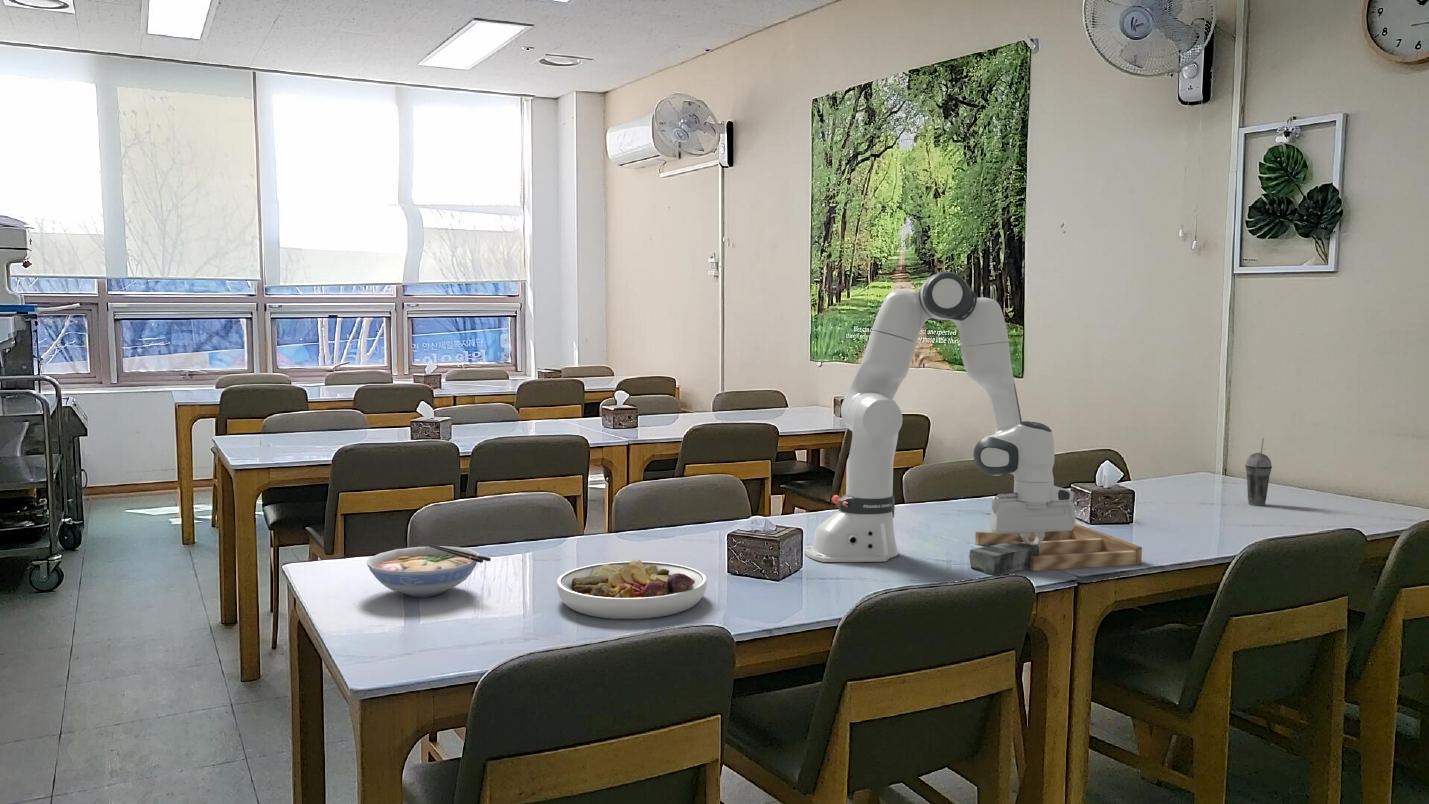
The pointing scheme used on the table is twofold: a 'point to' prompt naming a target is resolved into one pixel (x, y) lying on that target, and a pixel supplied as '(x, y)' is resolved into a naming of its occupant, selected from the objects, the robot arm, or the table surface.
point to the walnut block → (1046, 536)
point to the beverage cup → (1258, 477)
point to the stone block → (1003, 557)
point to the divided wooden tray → (1073, 549)
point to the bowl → (631, 589)
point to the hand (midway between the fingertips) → (1032, 550)
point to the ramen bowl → (424, 568)
